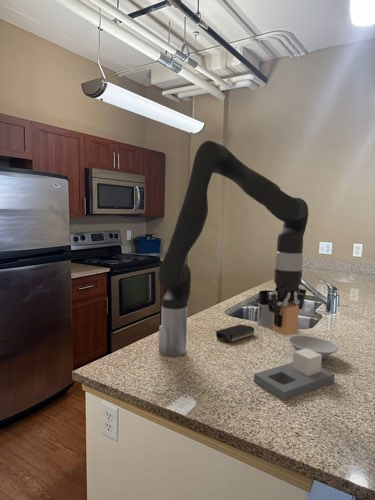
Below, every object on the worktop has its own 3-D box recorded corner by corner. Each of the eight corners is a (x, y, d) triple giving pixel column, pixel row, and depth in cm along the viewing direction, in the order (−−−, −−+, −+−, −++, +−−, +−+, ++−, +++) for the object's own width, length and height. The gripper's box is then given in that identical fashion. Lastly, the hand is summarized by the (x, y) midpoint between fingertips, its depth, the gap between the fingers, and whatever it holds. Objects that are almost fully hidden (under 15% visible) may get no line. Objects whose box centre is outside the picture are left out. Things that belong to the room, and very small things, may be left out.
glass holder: (278, 327, 154) (280, 294, 152) (247, 327, 152) (248, 294, 151) (272, 321, 162) (273, 290, 160) (242, 321, 161) (244, 290, 159)
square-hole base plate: (283, 400, 94) (285, 373, 93) (253, 381, 104) (255, 356, 103) (334, 381, 105) (336, 357, 104) (302, 366, 115) (304, 343, 115)
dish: (279, 354, 124) (279, 341, 124) (296, 344, 135) (297, 331, 134) (327, 371, 112) (328, 356, 112) (343, 358, 123) (344, 344, 122)
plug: (285, 335, 96) (286, 307, 96) (272, 329, 101) (273, 303, 100) (297, 332, 99) (299, 305, 98) (284, 327, 103) (285, 301, 102)
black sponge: (228, 345, 133) (229, 336, 132) (213, 338, 139) (214, 329, 139) (255, 336, 143) (256, 327, 143) (240, 330, 150) (241, 322, 149)
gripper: (280, 271, 91) (276, 333, 93) (316, 268, 98) (311, 325, 100) (260, 267, 97) (257, 324, 99) (295, 264, 105) (292, 317, 107)
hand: (285, 324), depth 100 cm, fingers closed on plug, 5 cm apart
